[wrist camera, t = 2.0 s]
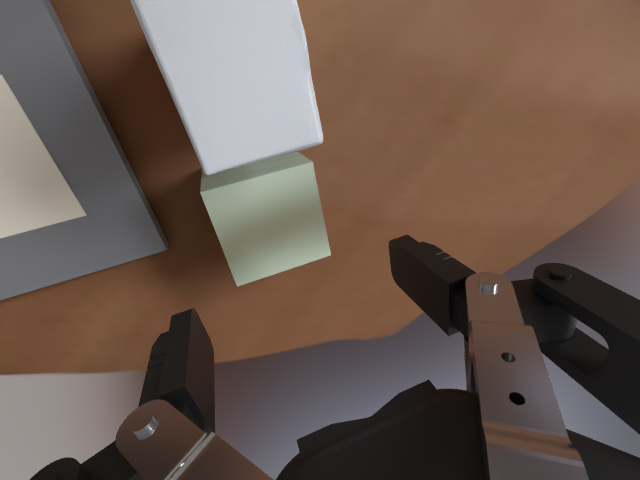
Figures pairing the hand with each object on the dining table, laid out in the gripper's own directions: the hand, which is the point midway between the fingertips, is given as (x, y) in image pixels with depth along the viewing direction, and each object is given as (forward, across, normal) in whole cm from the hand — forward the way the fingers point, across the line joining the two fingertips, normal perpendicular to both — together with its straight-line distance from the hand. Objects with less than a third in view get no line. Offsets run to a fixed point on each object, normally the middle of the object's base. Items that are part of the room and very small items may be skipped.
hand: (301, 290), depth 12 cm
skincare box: (+12, 0, -8) cm, 15 cm away
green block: (+12, 0, 0) cm, 12 cm away
